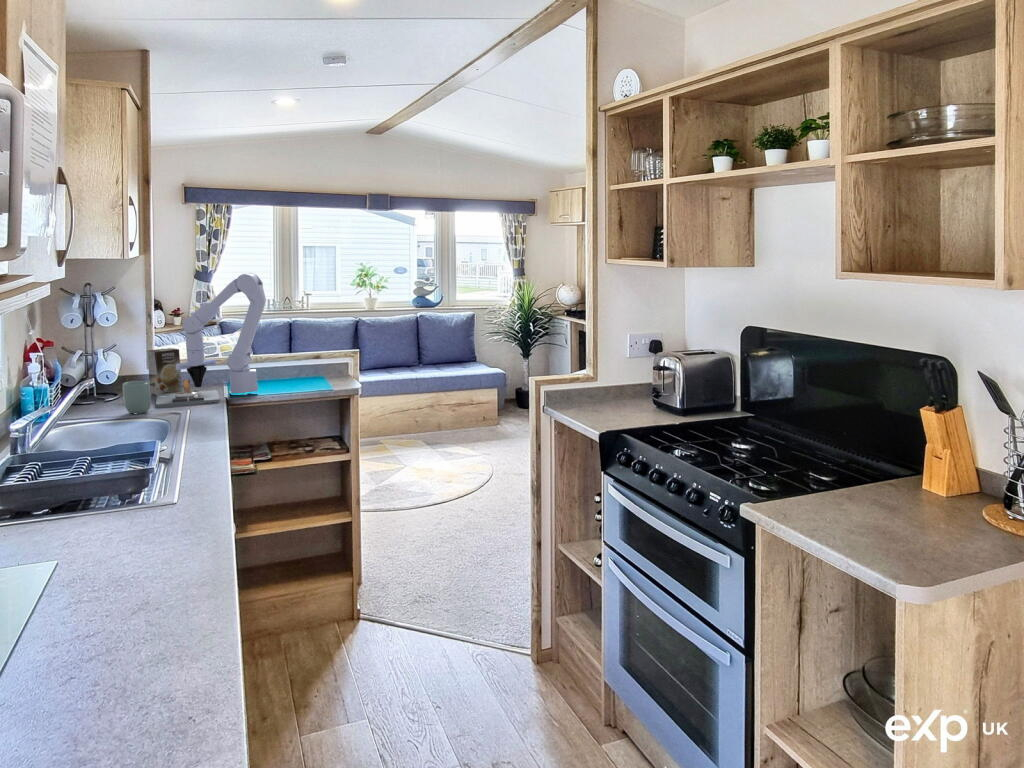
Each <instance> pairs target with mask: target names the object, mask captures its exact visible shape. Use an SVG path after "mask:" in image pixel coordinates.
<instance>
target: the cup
mask: <svg viewBox="0 0 1024 768" xmlns="http://www.w3.org/2000/svg"><path fill="white" fill-rule="evenodd" d="M121 388H122V396H123V397H122V398H123V402H124V407H125V409H126V411H127V412H128V413H130V414H131V413H143V412H146V413H147V412H148V411H149V410H150V409H151V404H152V394H151V392H150V381H149V380H132V381H126V382H125V381H124V382H123V383H122V387H121ZM143 414H144V413H143Z"/></svg>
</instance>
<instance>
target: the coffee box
mask: <svg viewBox="0 0 1024 768" xmlns="http://www.w3.org/2000/svg"><path fill="white" fill-rule="evenodd" d="M146 352H147V363H148V364H147V365H148V368H147V369H148V377H149V378H148V379H149V380H148V381H149V383H150V392H151V395H156V396H157V394H171V393H177V392H181V391H183V384H182V371H181V370H176V364H180V363H181V356H180V354H181V353H180V348H179V349H178V348H174V347H173V348H171V347H168V348H158V349H157V348H156V349H148V350H146Z"/></svg>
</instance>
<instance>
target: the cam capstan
mask: <svg viewBox="0 0 1024 768" xmlns="http://www.w3.org/2000/svg"><path fill="white" fill-rule="evenodd" d="M182 380H183V390H182V391H181V392H177V393H175V397H176V398H192V397H194V395H198V396H200V390H191V382H190V379H182Z"/></svg>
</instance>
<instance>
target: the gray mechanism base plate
mask: <svg viewBox="0 0 1024 768" xmlns="http://www.w3.org/2000/svg"><path fill="white" fill-rule="evenodd" d="M199 391H200V390H199ZM211 402H220V403H221V399H220V396H219V392H218V389H214V390H213V389H212V390H201V391H200V396H198V395H194V397H192V398H176V397H175V393H171V394H157V395H156V401H155V408H156V409H158V408H159V409H160V408H170V407H182V406H195V405H196V406H197V405H206V404H205V403H209V404H212V403H211Z"/></svg>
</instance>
